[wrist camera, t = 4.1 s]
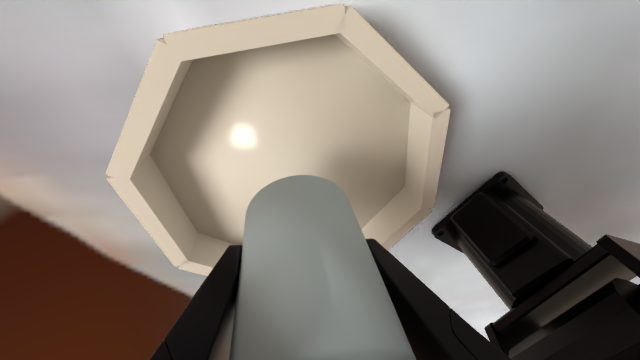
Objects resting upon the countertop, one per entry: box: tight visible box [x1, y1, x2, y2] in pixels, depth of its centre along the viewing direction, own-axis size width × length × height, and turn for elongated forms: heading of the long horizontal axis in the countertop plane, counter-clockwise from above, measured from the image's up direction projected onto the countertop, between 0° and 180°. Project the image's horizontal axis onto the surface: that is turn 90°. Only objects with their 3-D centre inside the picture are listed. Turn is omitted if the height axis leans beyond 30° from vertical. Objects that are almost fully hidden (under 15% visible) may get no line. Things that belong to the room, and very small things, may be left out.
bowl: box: [106, 4, 451, 276], centre depth 13 cm, size 15×15×2 cm
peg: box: [229, 175, 416, 360], centre depth 8 cm, size 4×4×6 cm
